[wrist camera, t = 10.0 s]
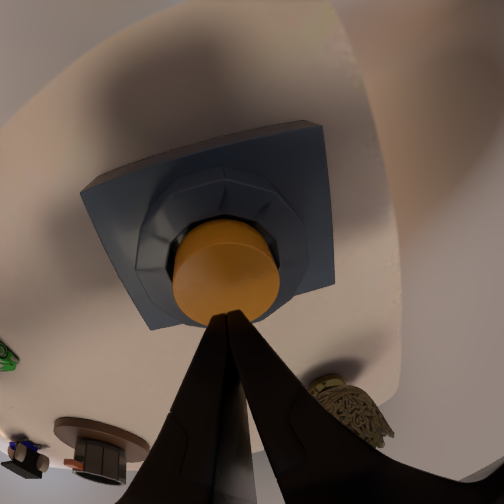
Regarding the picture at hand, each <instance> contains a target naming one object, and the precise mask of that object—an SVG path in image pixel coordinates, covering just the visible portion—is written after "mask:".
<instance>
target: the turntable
mask: <svg viewBox="0 0 504 504" xmlns="http://www.w3.org/2000/svg"><path fill="white" fill-rule="evenodd" d="M54 434H55V435H56V436H57V437H58V438H59V439H60V440H61V441H62V442H64V443H65V444H67V445H68V446H70V447H72V448H74V449H75V442H76V440H79V439H85V440H93V441H97V442H101V443H105V444H108V445H111V446H113V447H116V448H118V449H120V450H122V451H123V452H124V453H125V454H126V462H141V461H144V460H145V459H146V457H147V456H148V454H149V452H150V447H149V445H148V444H147V443H146V442H145V441H144V440H143V439H141V438H140V437H138V436H136V435H134V434H132V433H129V432H127V431H124V430H122V429H119V428H116V427H113V426H110V425H107V424H103V423H99V422H95V421H91V420H86V419H80V418H60V419H58V420H56V421H55V425H54Z"/></svg>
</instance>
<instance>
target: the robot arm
mask: <svg viewBox="0 0 504 504" xmlns="http://www.w3.org/2000/svg"><path fill="white" fill-rule="evenodd" d="M246 399H247V402H248V405H249V407H250V410H251V413H252V416H253V419H254V422H255V424H256V427H257V430H258V433H259V435H260V438H261V441H262V444H263V446H264V449H265V452H266V454H267V457H268V459H269V462H270V465H271V467H272V470H273V472H274V475H275V477H276V479H277V483H278V485H279V487H280V490H281V493H282V496H283V498H284V501H285V504H504V457H502V458H500V459H499V460H497V461H495V462H494V463H492V464H490V465H488V466H486V467H485V468H483V469H481V470H479V471H477V472H475V473H473V474H472V475H469V476H467V477H465V478H463V479H461V480H459V481H456V480H452V479H449V478H445V477H442V476H438V475H435V474H432V473H429V472H426V471H423V470H420V469H417V468H414V467H411V466H408V465H406V464H403V463H400V462H398V461H395V460H393V459H391V458H390V457H388V456H386V455H384V454H383V453H381V452H380V451H378V450H376V449H375V448H374V447H373V446H371V445H370V444H369V443H367V442H366V441H365V440H363V439H362V438H361V437H359V436H358V435H357V434H356V433H354V432H353V431H352V430H350V429H349V428H348V427H347V426H345V425H344V424H343V423H342V422H340V421H339V420H338V419H337V418H336V417H335V416H333V415H332V414H331V413H330V412H329V411H328V410H327V409H326V408H324V407H323V405H322V404H321V403H320V402H319V401H318V400H317V399H316V398H315V397H314V396H313V395H312V394H311V393H310V392H309V391H308V389H307V388H306V387H305V386H303V385H302V383H301V382H300V380H299V379H298V378H297V377H296V376H295V375H294V374H293V372H292V371H291V370H290V369H289V368H288V366H287V365H286V364H285V363H284V362H283V361H282V359H281V358H280V357H279V356H278V355H277V353H276V352H275V351H274V350H273V349H272V347H271V346H270V345H269V344H268V343H267V341H266V340H265V339H264V338H263V337H262V335H261V334H260V333H259V332H258V330H257V329H256V328H255V327H254V326H253V324H252V323H251V322H250V321H249V319H248V318H247V317H246V316H245V314H244V313H243V312H242V311H241V310H240V309H237V310H233V311H229V312H227V314H226V313H220V314H216V315H213V316H212V317H211V319H210V321H209V323H208V326H207V328H206V330H205V332H204V335H203V337H202V339H201V341H200V343H199V346H198V348H197V350H196V352H195V355H194V357H193V359H192V361H191V364H190V366H189V368H188V370H187V373H186V375H185V377H184V379H183V382H182V384H181V386H180V388H179V391H178V393H177V395H176V398H175V400H174V402H173V404H172V407H171V409H170V412H171V413H168V415H167V418H166V420H165V422H164V425H163V427H162V429H161V431H160V433H159V435H158V437H157V439H156V441H155V443H154V445H153V447H152V448H151V450H150V452H149V454H148V456H147V457H146V459H145V461H144V462H143V464H142V466H141V467H140V469H139V471H138V472H137V474H136V476H135V477H134V479H133V481H132V482H131V484H130V486H129V487H128V489H127V490H126V492H125V493H124V495H123V496H122V497H121V498H120V499H119V500H118V501H117V502H116V503H115V504H257V499H256V490H255V481H254V472H253V463H252V453H251V444H250V434H249V424H248V413H247V403H246Z"/></svg>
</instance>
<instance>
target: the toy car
mask: <svg viewBox="0 0 504 504" xmlns="http://www.w3.org/2000/svg"><path fill="white" fill-rule="evenodd" d="M18 362H19V360H18V359H17V358H16V357H15V356H14V355H13V354H12V353H11V352H10V351H7V348H6V346H5V345H4V344H3V343H1V342H0V371H13V370H14V369H15V367H16V364H18Z"/></svg>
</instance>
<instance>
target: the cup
mask: <svg viewBox="0 0 504 504" xmlns="http://www.w3.org/2000/svg"><path fill="white" fill-rule="evenodd" d="M308 391H309V392H310V393H311V394H312V395H313V396H314V397H315V398H316V399H317V400H318V401H319V402H320V403H321V404H322V405H323V407H324V408H326V409H327V410H328V411H329V412H330V413H331V414H332V415H333V416H335V417H336V418H337V419H338V420H339V421H340V422H342V423H343V424H344V425H345V426H347V427H348V428H349V429H350V430H352V431H353V432H354V433H356V434H357V435H358V436H359V437H361V438H362V439H363V440H365V441H366V442H367V443H369V444H370V445H371V446H373V447H374V448H376V447H378V448H383V447H384V445H385V443H384V441H383V436H384V437H385V436H387V435H388V436H389V437H392V438H394V432H393V431H392V429H391V428H390V426H389V425H388V423H387V421H386V420H385V418H384V417H383V415H382V413H381V412H380V410H379V409H378V407H377V406H376V404H375V403H374V401H373V400H372V399H371V397H370V396H369V395H368V394H367V393H366V392H365V391H363V390H362V389H360V388H358V387H355V386H351V385H347V382H346V380H345V379H344V378H343V377H342V376H340V375H337V374H331V375H326V376H323V377H321V378H319V379H317V380H316V381H314V382H313V383H312V384H311V385H310V387H309V390H308ZM386 434H387V435H386Z"/></svg>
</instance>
